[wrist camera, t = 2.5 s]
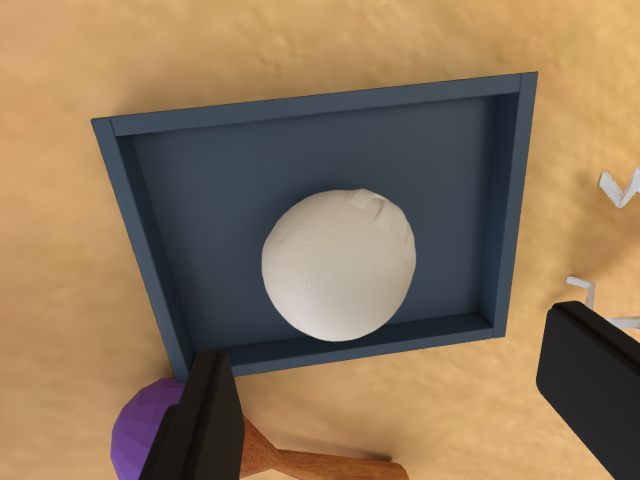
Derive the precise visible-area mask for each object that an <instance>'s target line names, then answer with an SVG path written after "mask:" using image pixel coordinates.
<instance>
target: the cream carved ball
mask: <svg viewBox="0 0 640 480" xmlns="http://www.w3.org/2000/svg"><path fill="white" fill-rule="evenodd" d="M414 246H415V241H414V236H413V233H412V230H411V227H410V224H409V223H408V222H407V220H406V217H405V215H404V213H403V211H402V210H401V209H400V208H399V207H398V206H397V205H395V204H393V203H391V202H390V201H389V200H387V199H386V198H384V197H382V196H380V195H378V194H376V193H374V192H371V191H369V190H366V189H356V190H350V191H349V190H331V191H326V192H321V193H317V194H314V195H312V196H309V197H307V198H305V199H304V200H302V201H300V202H299V203H297V204H296V205H294V206H293V207H291V208H290V209H289V210H288V211H287V212H286V213H284V214H283V216H282V217H281V218H280V219H279V220H278V222H277V223H276V225H275V226H274V228H273V229H272V231H271V233H270V234H269V236H268V237H267V239H266V241H265V243H264V246H263V251H262V275H263V279H264V284H265V288H266V291H267V293H268V295H269V297H270V299H271V301H272V303H273V304H274V306H275V307H276V309H277V310H278V311H279V313H280V314H281V315H282V316H283V317H284V318H285V319H286V320H287V321H288V322H289V323H290V324H291V325H292V326H293V327H295V328H297V329H298V330H300V331H302V332H304V333H306V334H308V335H310V336H312V337H315V338H318V339H321V340H326V341H346V340H352V339H357V338H360V337H362V336H364V335H367V334H369V333H371V332H373V331H375V330H376V329H378V328H379V327H381V326H382V325H383V324H384V323H386V322H387V321H388V320H389V319H390V318H391V317H392V316H393V314H394V313H395V312H396V311H397V310H398V308H399V307H400V305H401V304H402V302H403V300H404V298H405V296H406V294H407V291H408V288H409V286H410V283H411V280H412V276H413V272H414V270H415V265H416V251H415V247H414Z"/></svg>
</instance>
